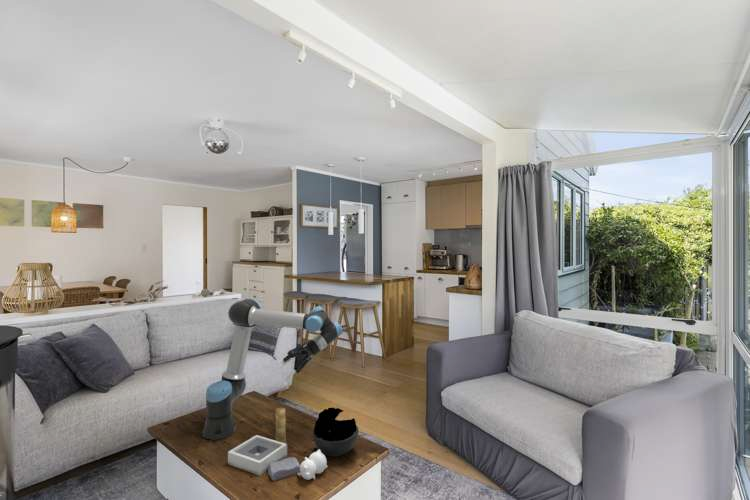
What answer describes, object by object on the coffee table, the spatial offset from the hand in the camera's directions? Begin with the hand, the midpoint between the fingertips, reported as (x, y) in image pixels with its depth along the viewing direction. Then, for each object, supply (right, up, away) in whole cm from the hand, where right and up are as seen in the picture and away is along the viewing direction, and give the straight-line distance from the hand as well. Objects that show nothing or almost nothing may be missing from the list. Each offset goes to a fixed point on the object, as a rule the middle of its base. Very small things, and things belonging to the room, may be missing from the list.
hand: (280, 372), depth 178 cm
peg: (+2, -30, -9) cm, 32 cm away
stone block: (+9, -30, -30) cm, 43 cm away
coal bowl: (+29, -30, -17) cm, 45 cm away
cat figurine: (+21, -30, -32) cm, 49 cm away
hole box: (-4, -30, -21) cm, 37 cm away
